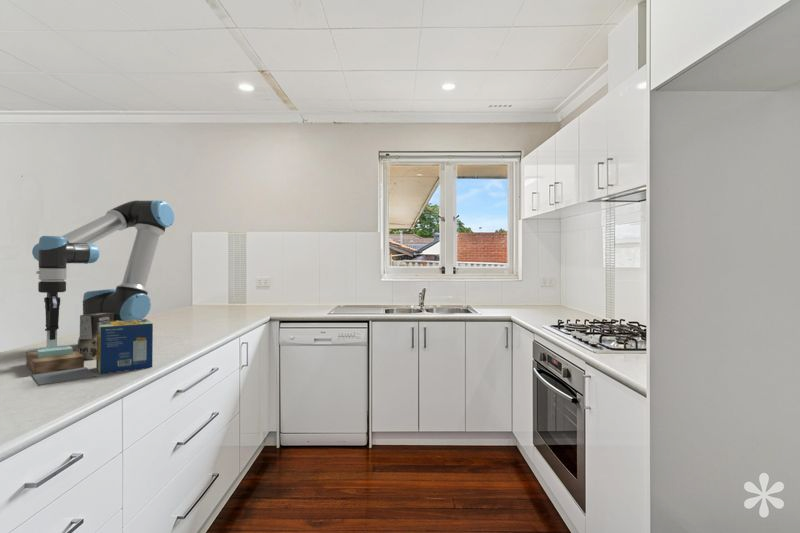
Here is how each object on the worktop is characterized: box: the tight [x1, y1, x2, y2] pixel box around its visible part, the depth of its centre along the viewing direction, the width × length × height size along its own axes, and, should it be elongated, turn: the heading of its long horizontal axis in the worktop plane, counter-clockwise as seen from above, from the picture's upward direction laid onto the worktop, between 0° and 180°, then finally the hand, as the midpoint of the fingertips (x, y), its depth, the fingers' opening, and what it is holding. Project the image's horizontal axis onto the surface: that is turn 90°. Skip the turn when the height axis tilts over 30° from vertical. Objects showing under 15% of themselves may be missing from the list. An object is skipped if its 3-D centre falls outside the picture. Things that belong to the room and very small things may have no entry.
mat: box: [31, 366, 97, 386], centre depth 138 cm, size 14×14×1 cm
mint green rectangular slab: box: [36, 345, 74, 358], centre depth 149 cm, size 9×6×2 cm, turn 136°
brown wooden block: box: [25, 347, 85, 375], centre depth 149 cm, size 13×18×4 cm
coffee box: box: [78, 313, 114, 361], centre depth 163 cm, size 9×6×16 cm
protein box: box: [95, 318, 154, 375], centre depth 149 cm, size 10×15×16 cm
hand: (51, 348), depth 151 cm, fingers closed
